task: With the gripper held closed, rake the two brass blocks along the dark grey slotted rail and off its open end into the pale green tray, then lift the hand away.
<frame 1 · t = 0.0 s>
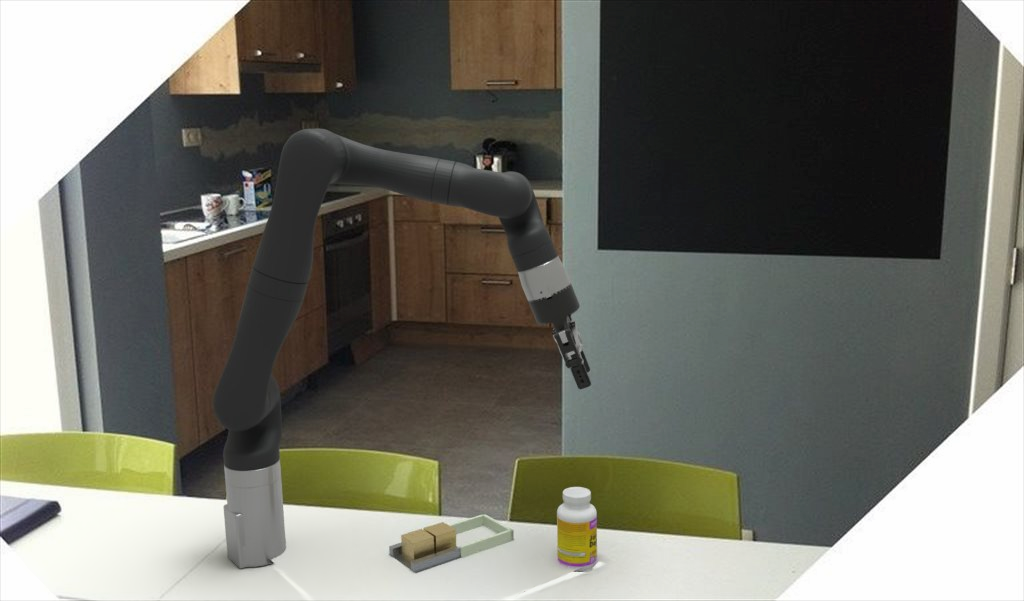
hand: (585, 379, 155), 31 cm above the table, tool tilted 20°, fingers open, 8 cm apart
supplement bottle: (577, 565, 159), on the table
brass block 1: (418, 557, 161), point 1 cm above the table, touching slot rail
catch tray: (473, 544, 167), on the table
slot rail: (425, 561, 162), on the table
brass block 2: (440, 550, 163), point 1 cm above the table, touching slot rail
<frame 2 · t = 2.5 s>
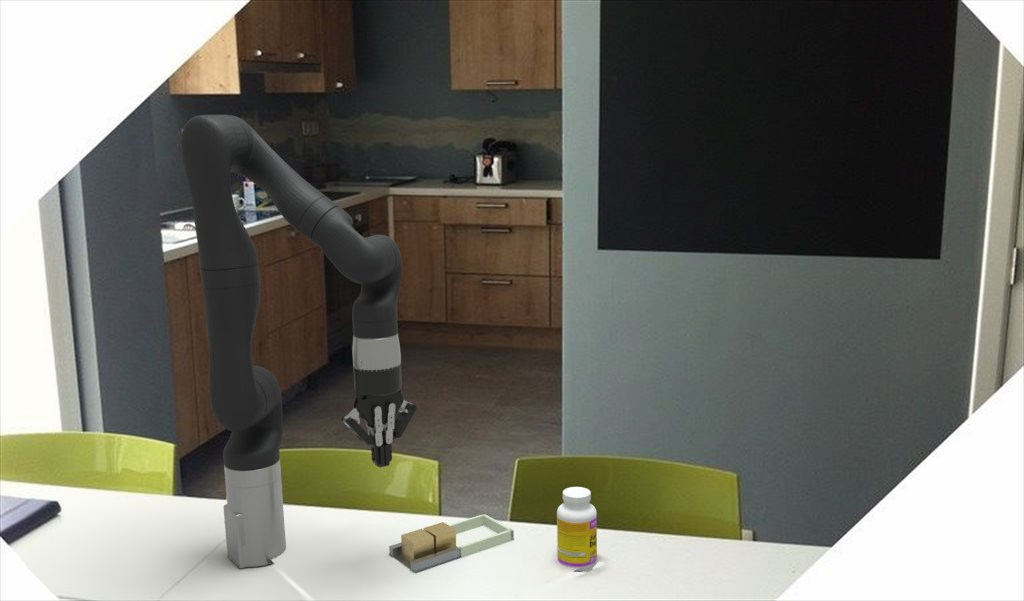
hand: (382, 465, 154), 19 cm above the table, tool pointing down, fingers closed
nothing on the table moved.
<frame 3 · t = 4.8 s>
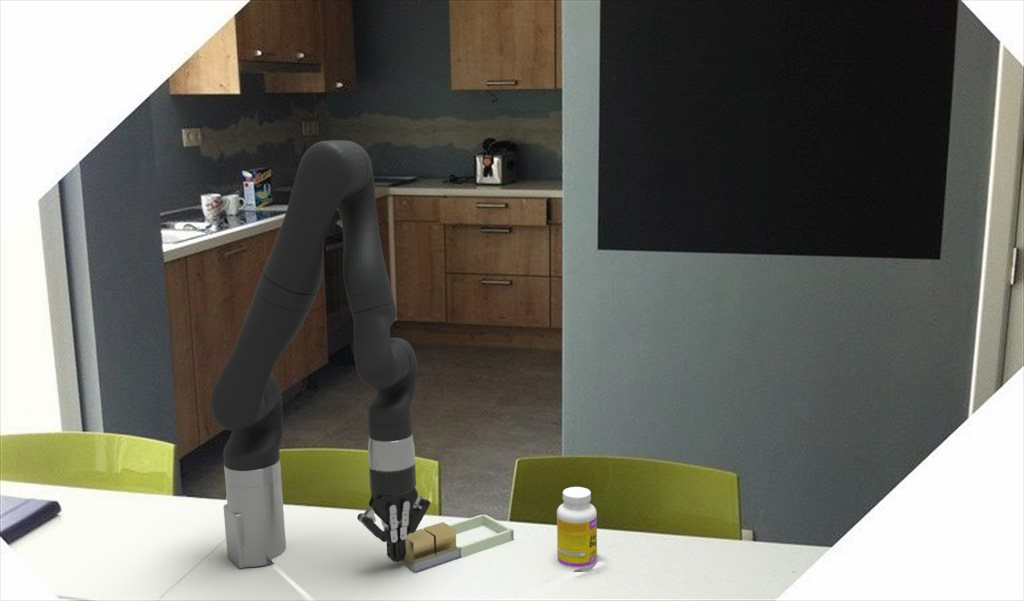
hand: (396, 559, 158), 2 cm above the table, tool pointing down, fingers closed
brass block 1: (418, 557, 161), point 1 cm above the table, touching gripper
everything else where it was.
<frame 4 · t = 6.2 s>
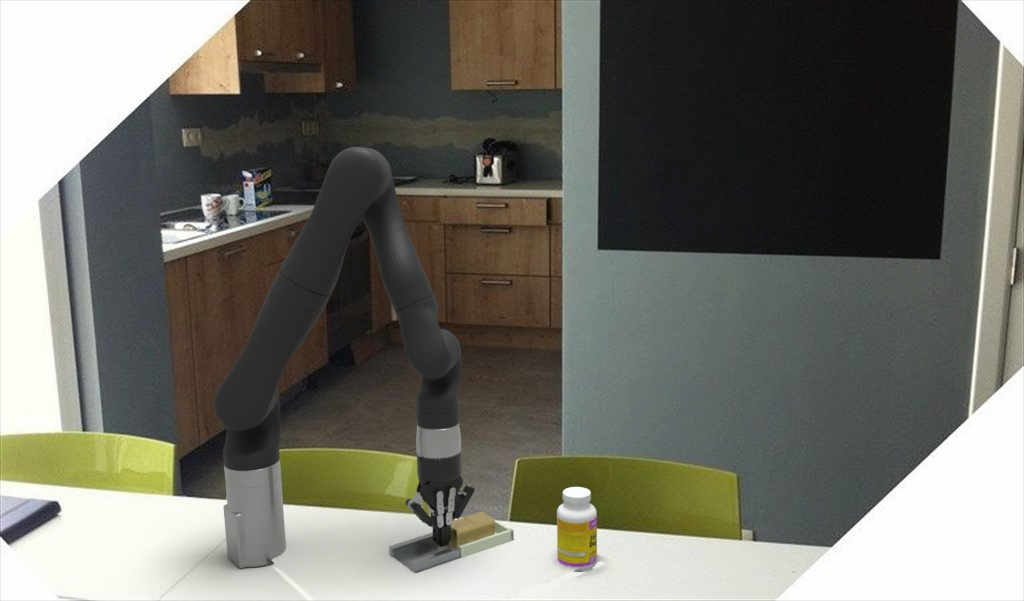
hand: (442, 544, 163), 2 cm above the table, tool pointing down, fingers closed
brass block 1: (460, 545, 166), point 1 cm above the table, touching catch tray, brass block 2, gripper
brass block 2: (479, 539, 168), point 1 cm above the table, touching brass block 1
everything else where it was.
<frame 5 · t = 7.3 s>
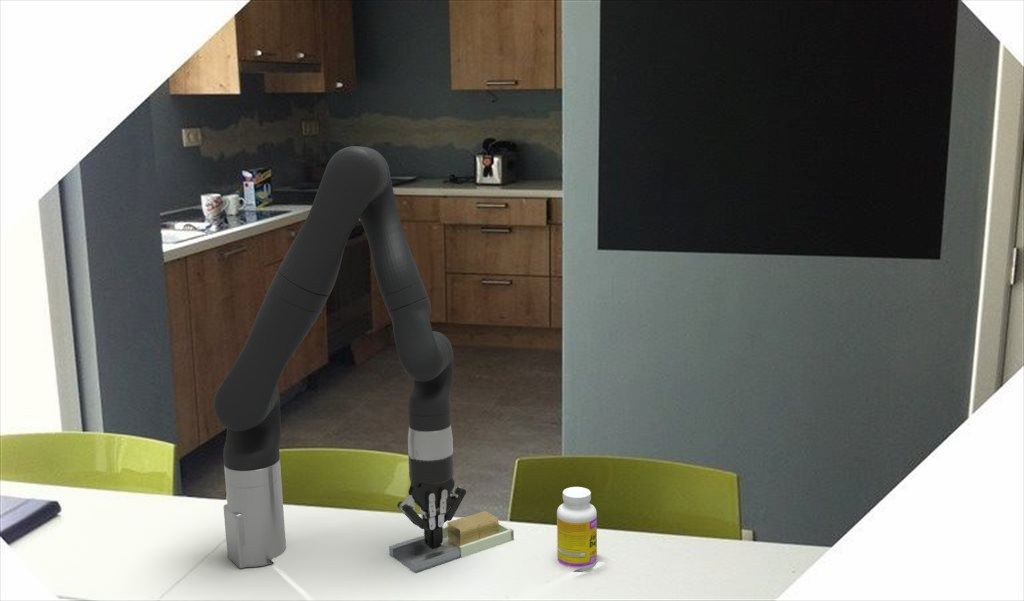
hand: (433, 546, 163), 2 cm above the table, tool pointing down, fingers closed
brass block 1: (463, 544, 167), resting on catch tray
brass block 2: (483, 538, 169), resting on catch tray
everything else where it was.
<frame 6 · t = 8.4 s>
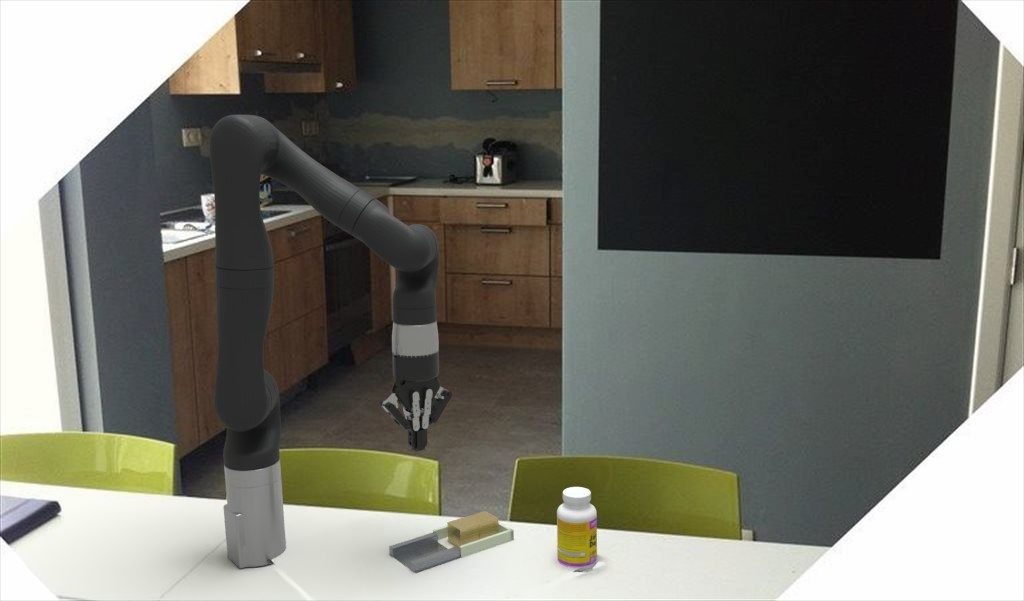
hand: (417, 449, 157), 20 cm above the table, tool pointing down, fingers closed
nothing on the table moved.
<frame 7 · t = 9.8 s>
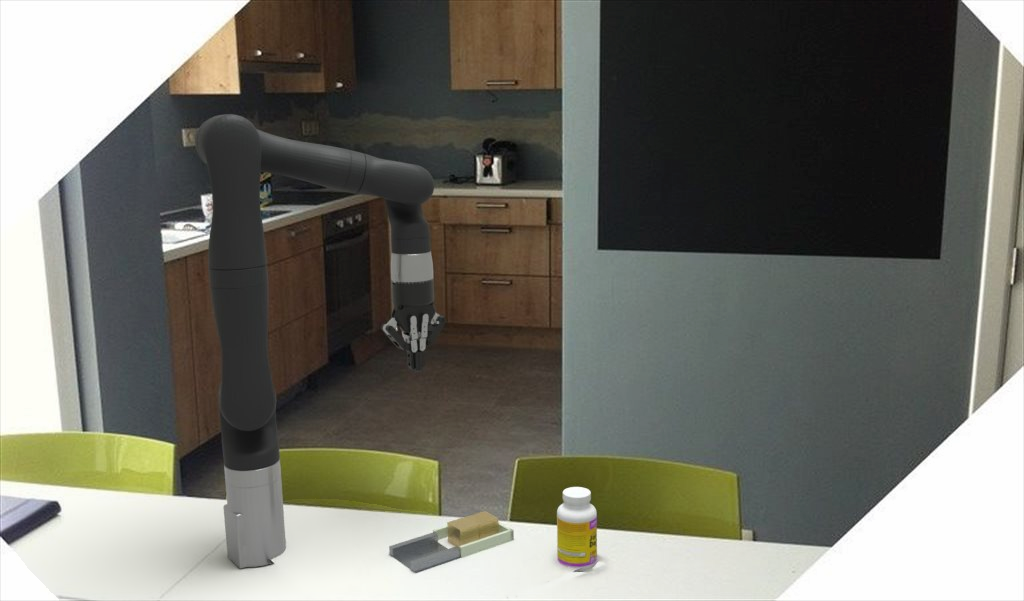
hand: (416, 370, 173), 29 cm above the table, tool pointing down, fingers closed
nothing on the table moved.
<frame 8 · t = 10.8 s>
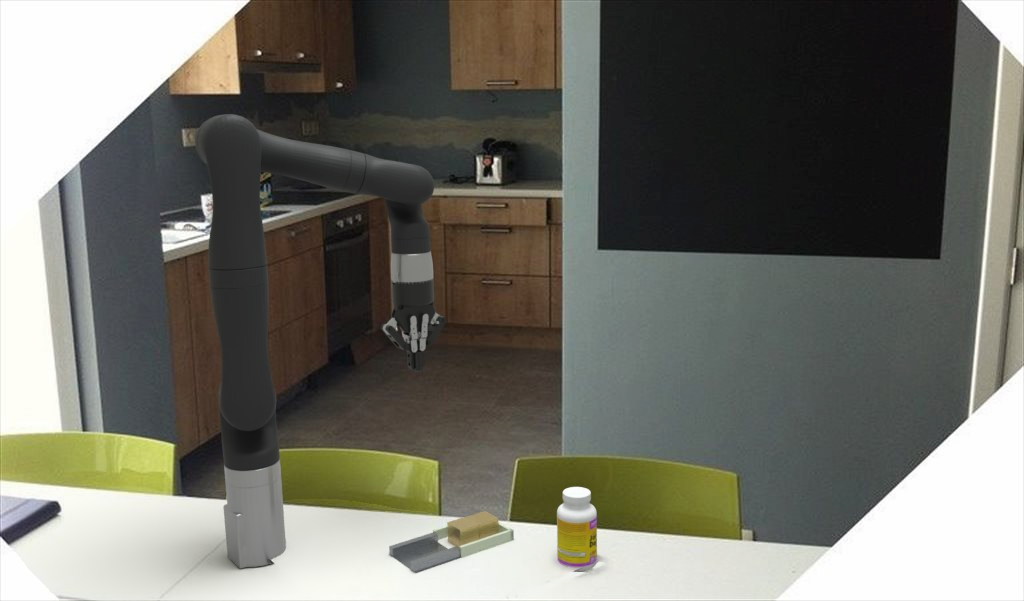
hand: (416, 370, 173), 29 cm above the table, tool pointing down, fingers closed
nothing on the table moved.
at the end: brass block 2 inside the target area on the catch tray (2.2 cm from its centre), point 0.5 cm above the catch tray's base; brass block 1 inside the target area on the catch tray (1.8 cm from its centre), point 0.5 cm above the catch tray's base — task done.
